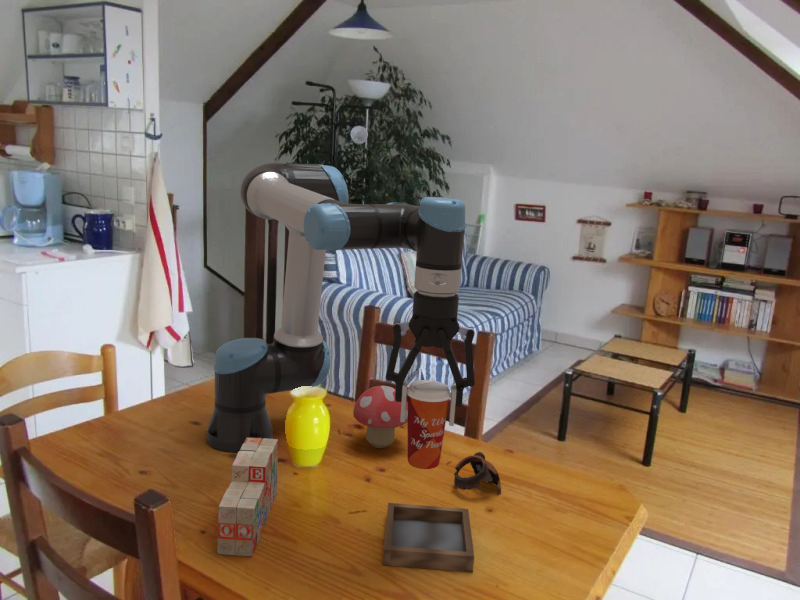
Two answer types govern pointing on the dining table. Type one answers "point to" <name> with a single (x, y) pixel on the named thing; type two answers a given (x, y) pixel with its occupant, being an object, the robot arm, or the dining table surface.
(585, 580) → the dining table surface
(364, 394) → the decorative mushroom
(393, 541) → the tray
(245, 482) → the stack of blocks
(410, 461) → the paper cup
